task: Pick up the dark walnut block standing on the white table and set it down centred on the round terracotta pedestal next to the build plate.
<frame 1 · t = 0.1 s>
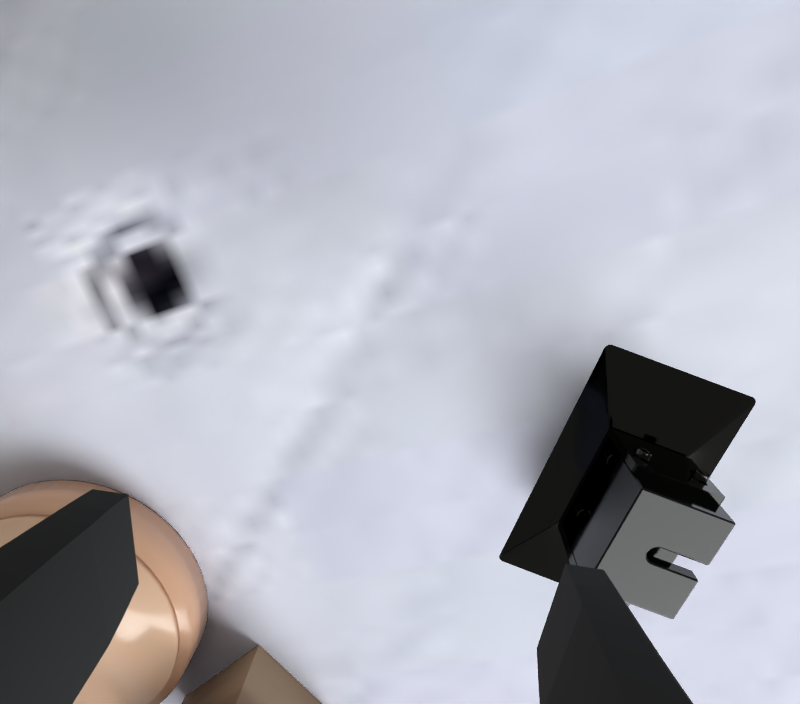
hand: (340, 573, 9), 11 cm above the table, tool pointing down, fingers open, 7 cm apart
pedestal: (86, 590, 23), on the table
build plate: (611, 475, 21), on the table
walnut block: (259, 703, 24), on the table
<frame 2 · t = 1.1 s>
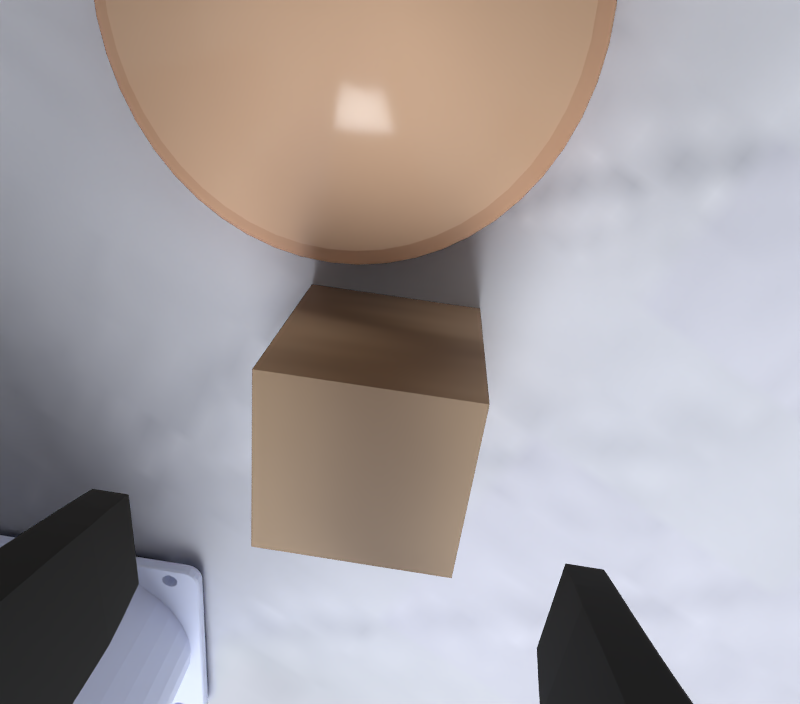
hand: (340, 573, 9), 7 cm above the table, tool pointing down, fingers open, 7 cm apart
pedestal: (360, 18, 12), on the table
walnut block: (386, 369, 16), on the table
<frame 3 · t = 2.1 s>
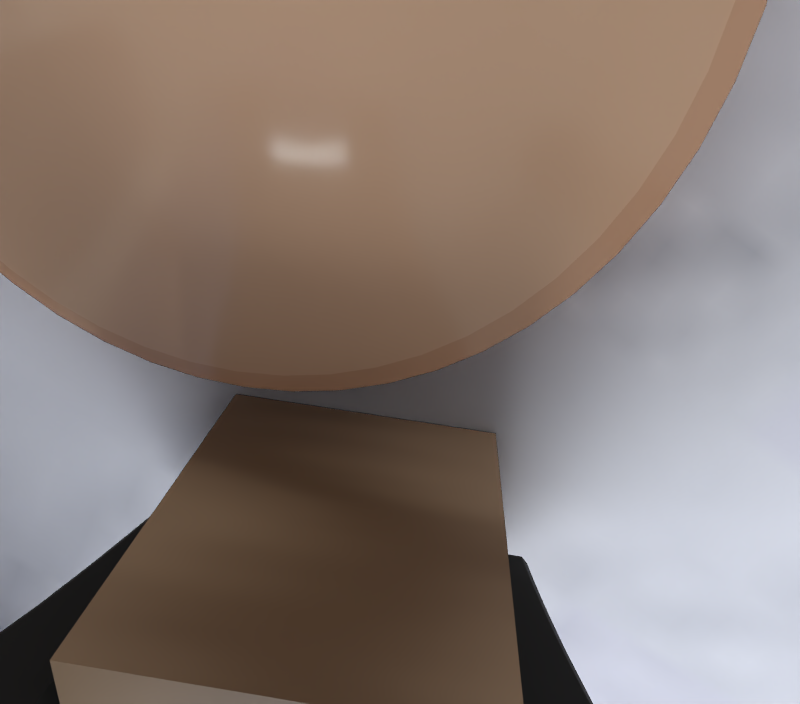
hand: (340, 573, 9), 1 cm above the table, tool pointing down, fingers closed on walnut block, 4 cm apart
walnut block: (353, 514, 11), on the table, touching gripper
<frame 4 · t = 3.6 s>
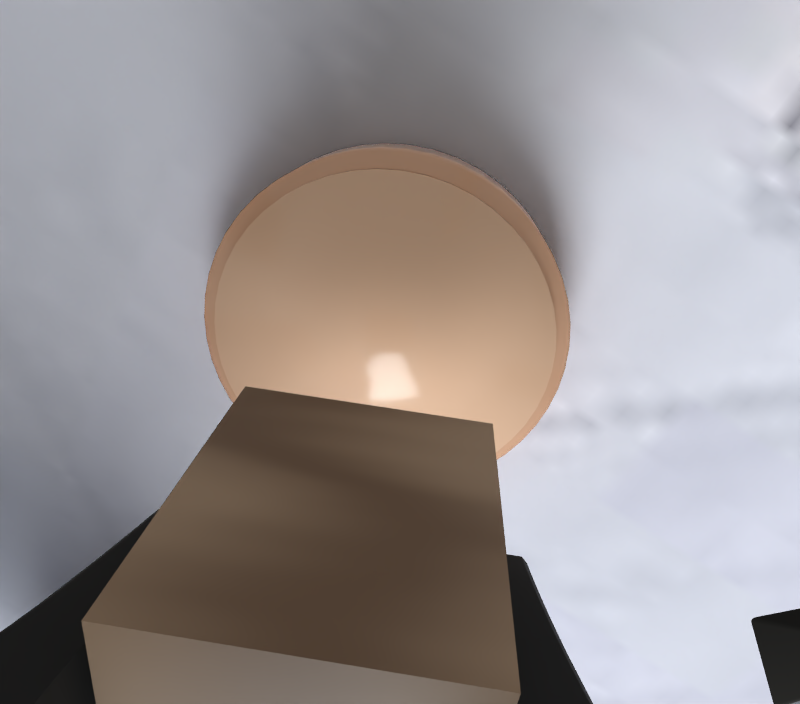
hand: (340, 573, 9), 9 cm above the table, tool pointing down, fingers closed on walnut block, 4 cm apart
pedestal: (389, 319, 17), on the table
walnut block: (357, 502, 11), point 7 cm above the table, touching gripper
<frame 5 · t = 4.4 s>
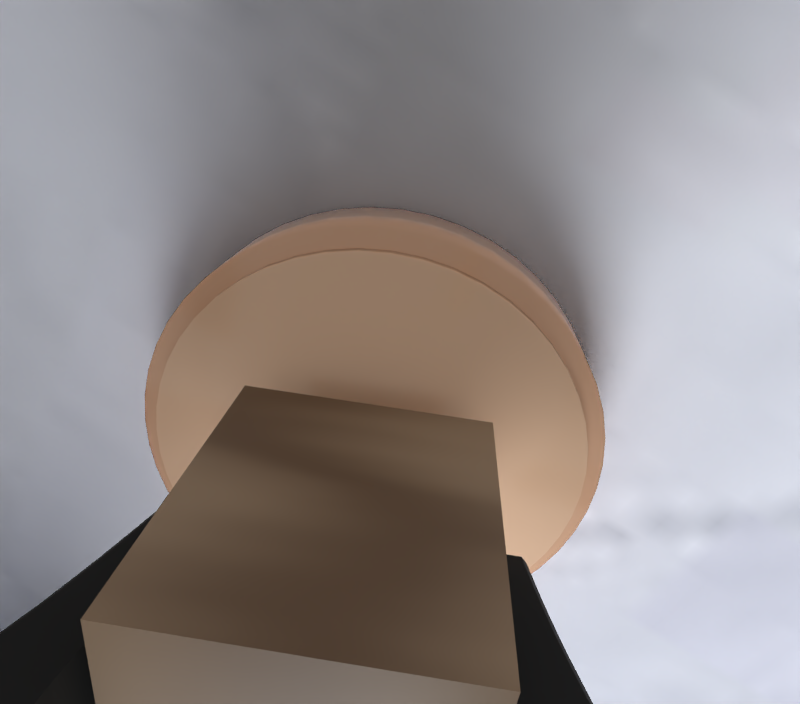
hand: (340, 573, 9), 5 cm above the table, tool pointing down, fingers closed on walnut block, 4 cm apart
pedestal: (377, 413, 14), on the table
walnut block: (357, 501, 11), point 3 cm above the table, touching gripper
when the fingers open (5 cm above the table, at t = 5.0 s): walnut block stays where it is, resting on pedestal.
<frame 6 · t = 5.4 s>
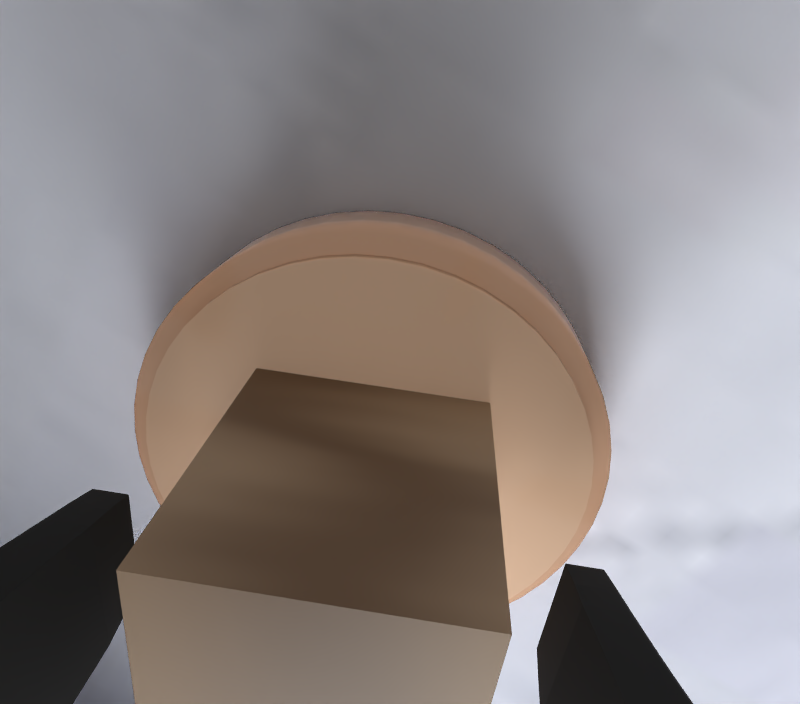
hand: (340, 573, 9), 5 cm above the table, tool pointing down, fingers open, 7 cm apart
pedestal: (376, 422, 14), on the table
walnut block: (362, 478, 12), point 2 cm above the table, touching pedestal
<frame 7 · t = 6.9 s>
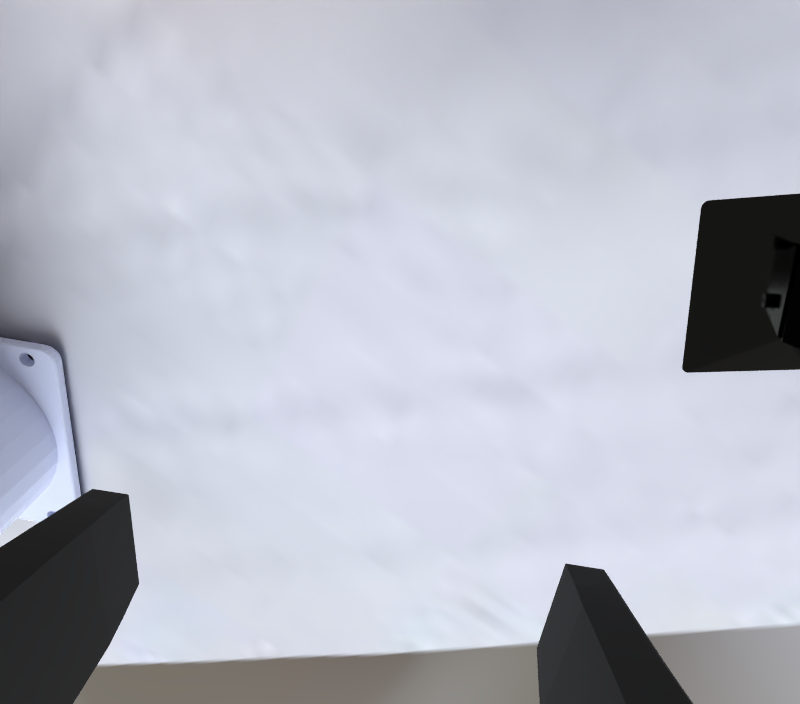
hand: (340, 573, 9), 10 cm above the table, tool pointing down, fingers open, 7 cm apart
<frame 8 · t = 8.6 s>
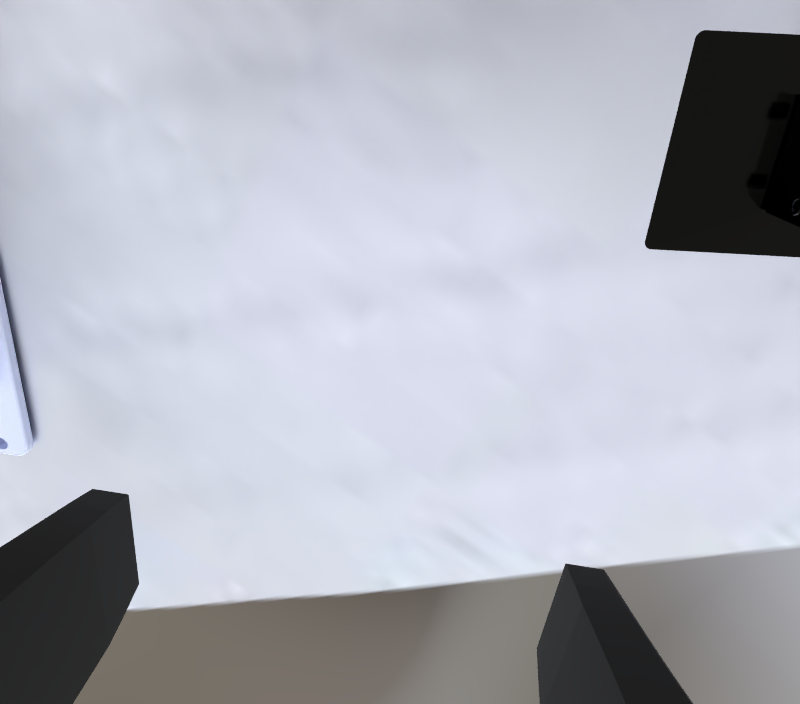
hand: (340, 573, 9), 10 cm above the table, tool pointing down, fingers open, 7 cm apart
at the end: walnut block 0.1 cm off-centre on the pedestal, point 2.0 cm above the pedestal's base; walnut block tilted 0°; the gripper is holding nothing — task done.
